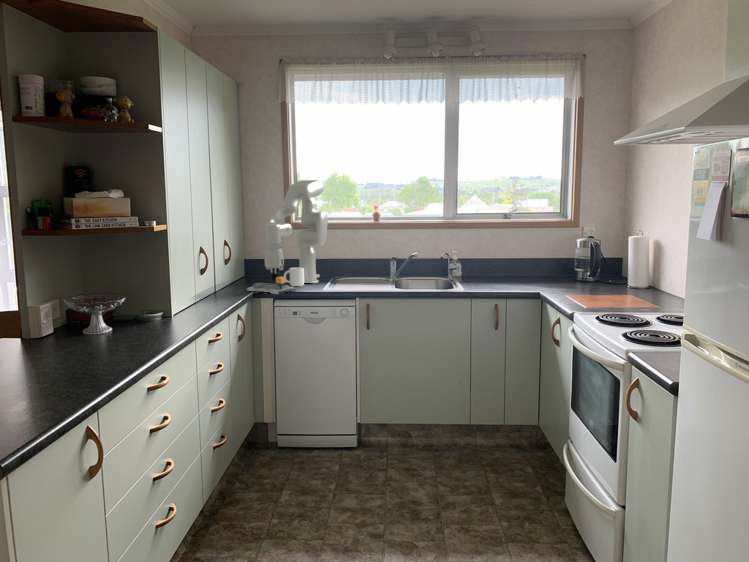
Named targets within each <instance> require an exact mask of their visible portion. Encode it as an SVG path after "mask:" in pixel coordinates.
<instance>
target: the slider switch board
mask: <svg viewBox="0 0 749 562" xmlns="http://www.w3.org/2000/svg"><path fill="white" fill-rule="evenodd" d="M294 288H295V287H291V286H290V284H284V286H278V283H264V282H256V283H253V284H252V286H250V287H247V288H246V289H247V290H248V291H264V292H270V293H271V295H281V294H280V292H281V291H285V290H289V289H294ZM248 291H247V292H248Z"/></svg>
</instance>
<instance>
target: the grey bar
mask: <svg viewBox="0 0 749 562" xmlns="http://www.w3.org/2000/svg"><path fill="white" fill-rule="evenodd" d="M292 290H295V291H297V289H296V287H294V289H289V290H285V291H281V292H280V294H279V295H284V294H286V293H285V292H288V291H292ZM292 292H293V291H292ZM288 293H289V292H288Z"/></svg>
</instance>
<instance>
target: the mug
mask: <svg viewBox="0 0 749 562" xmlns="http://www.w3.org/2000/svg"><path fill="white" fill-rule="evenodd" d="M288 274H289V280H288V279H287V275H288ZM283 277H286V284H289V286H290V285H291V286H302V287H304V286H305V284H304V268H302V267H300V266H299V267H289V269H288V270H286V271H285V272H284V274H283ZM303 285H304V286H303ZM291 286H290V287H291Z"/></svg>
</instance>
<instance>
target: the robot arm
mask: <svg viewBox="0 0 749 562" xmlns="http://www.w3.org/2000/svg"><path fill="white" fill-rule="evenodd" d="M323 192H324V184H323V182H322V181H321V180H318V179H312V180H308V179H307V180H305V179H304V180H303V179H301V180H298V181H297V182H295V183H292V184H290V186H289V187H288V189H287V192H286V194H285V197H284V200H283V201H282V205H281V206H280V207H278V208H277V209H275V211H273V212H272V214H271V215H270V217H269V218H268V222H267V225H266V229H265V230H266V244H265V247H266V249H265V252H264V253H265V254H264V267H265V269H266V270H268V271H270V274H271V279H272V281H273V282H276V277H279V273H280V271H283V270H284V266H285V257H284V252H283V249H282V237H285V238H286V237H289V236H291V235H292V233H293V226H292V225H291V223H288V222H280V221H282V220H283V219H285V218H287V217H289V216H291V215H293V214H295V213H296V212H297V211H298V209H299V205H300V203H301V217H300V222H301V225H302V226H303V227H305V228H306V229H305V228H303V229H301V230H299V231H298V232H297V235H296V240H297V245H298V252H299V253H298V255H299V257H298V258H299V267H302V268H304V283H313V284H318V283H319V279H318V278H320V277H321V276H320V274H317V268H316V267H317V266H316V265H317V261H316V260H317V259H316V257H317V256H316V251H315V249H314V247H313V246H315V247H322V246H324V245H325V244H326V242H327V235H328V215H327V214H326V212H324V211H321V210H317V201H316V199H315V198H316V197H318V196H320V195H321V194H323ZM307 228H308V229H307ZM309 228H312V229H309ZM313 228H316V229H313Z"/></svg>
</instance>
